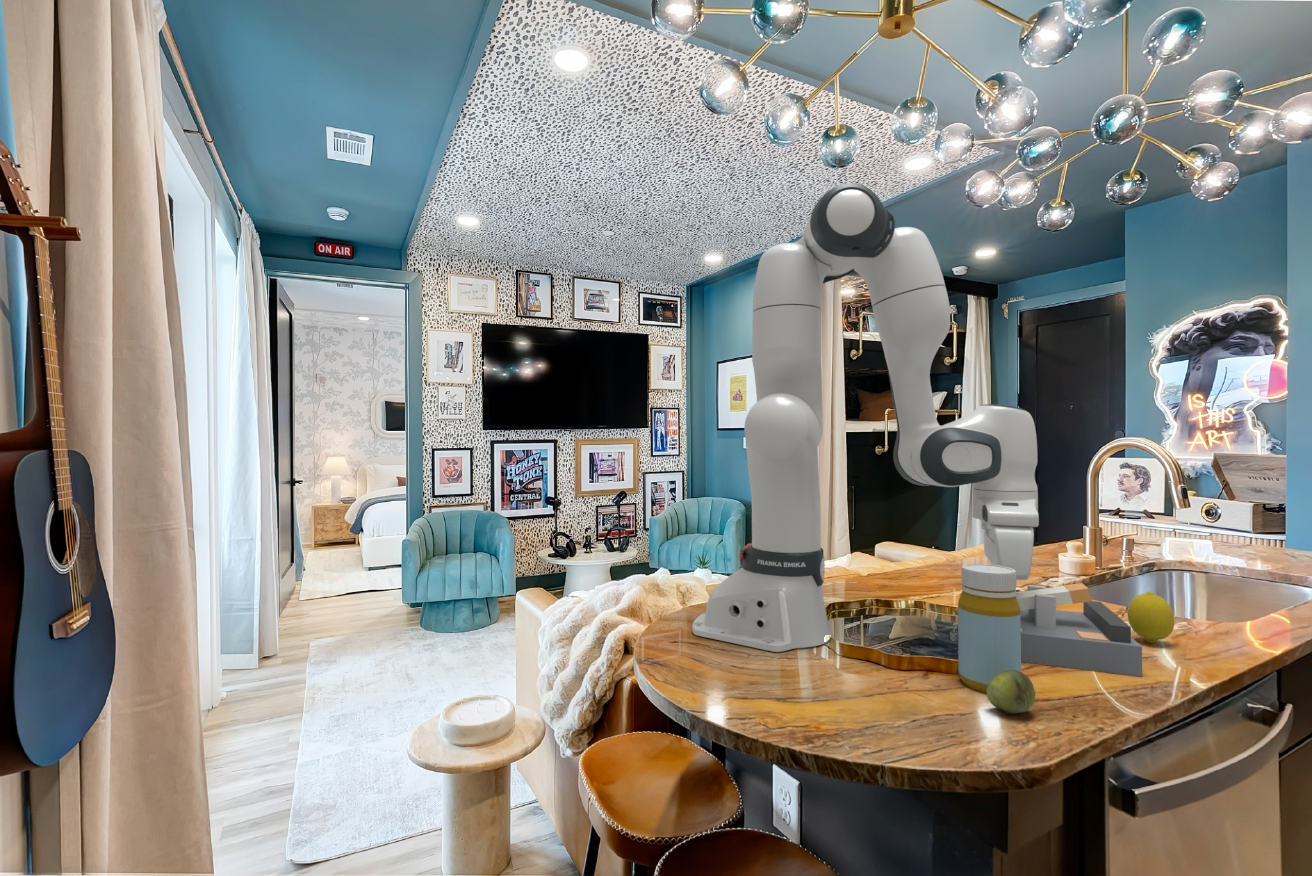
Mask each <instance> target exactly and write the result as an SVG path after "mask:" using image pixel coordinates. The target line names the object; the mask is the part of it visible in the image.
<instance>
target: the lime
mask: <svg viewBox="0 0 1312 876" xmlns="http://www.w3.org/2000/svg"><path fill="white" fill-rule="evenodd" d="M985 694H986V696H987V700H988V701H989V703H990V704H992V706H994V707H995V708H997V709H999V710H1000V711H1002V712H1005V713H1007V714H1013V715H1014V714H1018V713H1019V714H1020V713H1026V712H1027V711H1029V710H1030V709H1031V708H1032V707H1033V705H1034V702H1035V699H1036V690H1035V688H1034V684H1033V682H1032V681H1031V678H1030V677H1029V676H1027V674H1025V673H1023V672H1022V671H1021V672H1020V671H1017V670H1008V671H1003V672H1001V673H1000V674H998V675H997V676H996V677H994V678H993V679H992V680H991V681H990V683H989V685H988V687H987V691H986V693H985Z"/></svg>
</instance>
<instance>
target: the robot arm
mask: <svg viewBox="0 0 1312 876" xmlns="http://www.w3.org/2000/svg"><path fill="white" fill-rule="evenodd" d="M853 271H854V272H856V273H857V274H858V276H860V277H861V278H862V280H864V282H865V286H866V288H867V289H868V292H869V297H870V298H869V299H870V303H871V304H870V305H871V307H872V311H873V316H874V320H875V324H876V327H877V333H878V335H879V338H880V342H881V345H882V349H883V353H884V358H885V362H886V365H887V370H888V379H889V384H890V389H891V396H892V402H893V406H894V407H893V408H894V413H895V419H896V439H895V442H894V447H893V452H892V453H893V455H892V456H893V457H892V458H893V463H894V466H895V467H894V468H895V469H896V470H897V472H898V473H899V475H900V476H901V477H902V478H903V479H904V480H905V481H907V482H909V483H911V484H913V485H916V486H922V487H929V486H935V487H942V488H943V487H944V488H957V487H961V486H964V485H970V484H971V485H972V486H971V490H972V491H971V492H972V493H971V494H972V496H971V498H972V501H971V502H972V504H971V505H972V510H971V511H972V518H973V519H976V520H980V521H981V524H980V525H981V526H980V527H981V529H982V530H984V535H983V537H984V538H983V539H984V540H983V543H984V544H983V547H984V549H983V550H984V556H985V557H986V558H987V560H988V561H989V562H990V565H998V566H1004V567H1008V568H1012V569H1014V570H1015V571H1016V581H1019V580H1022V581H1027V580H1029V578H1030V575H1031V572H1032V565H1033V554H1034V553H1033V552H1034V539H1035V537H1034V536H1035V534H1034V533H1035V532H1034V531H1035V530H1034V528H1037V527H1039V525H1040V523H1039V522H1040V517H1039V503H1038V502H1039V493H1038V490H1039V489H1038V484H1037V483H1036V477H1035V473H1036V469H1037V468H1036V467H1037V465H1038V440H1037V439H1038V438H1037V431H1036V426H1035V425H1036V424H1035V422H1034V418H1033V417H1032V415H1031V413H1030V412H1029V411H1027V410H1026V409H1024V408H1021V407H1018V406H1014V405H1007V404H995V403H993V404H992V403H988V404H982V405H979V406H977V408H975V409H974V410H973V411H972V412H969V413H968V414H966V415H964V416H963V417H960V418H958V419H956V420H953V421H951V422H947V423H945V424H943V425H940V423H939V422H938V419H937V415H936V410H935V404H934V397H933V391H932V385H931V376H930V374H931V367H932V364H933V360H934V358H935V356H936V354H937V352H938V350H939V348H940V347H941V346H942V344H943V342H944V340H945V339H946V337H947V335H948V334H949V331H950V328H951V310H950V308H951V306H950V301H949V296H948V291H947V287H946V283H945V280H944V275H943V273H942V270H941V266H940V263H939V261H938V257H937V255H936V253H935V250H934V248H933V247H932V244H931V242H930V240H929V238H928V236H927V235H926V234H925V232H923V231H922V230H920V229H919V228H917V227H911V226H901V227H896V219H895V217H894V215H893V214H892V213H891V212H890V211H889V210H888V209H887V208H886V207H885V206H884V204H883V203H882V201H881V200H880V198H879V197H878V195H877V194H876V193H875V192H874V191H873V190H871V189H870V188H869V187H868V186H865V185H863V184H860V183H857V182H846V183H842V184H839V185H836V186H834V187H832V188H830V189H829V190H827V191H826V192H825V193H824V194H823V195H822V196H821V197H820V198H819V200H818V201H817V202H816V203H815V205H814V207H813V209H812V212H811V214H810V217H809V219H808V221H807V223H806V225H805V227H804V230H803V234H802V236H801V237H800V239H798V240H797V241H793V242H784V243H783V242H782V243H780V244H776V245H774V246H772V247H770V248H768V249H767V250H766V251H764V253H762V255H761V256H760V258H759V261H758V266H757V269H756V274H755V275H756V276H755V279H754V288H753V295H752V297H753V298H752V332H751V333H752V337H751V338H752V343H751V344H752V346H751V348H752V350H751V351H752V352H751V353H752V357H751V360H752V361H751V362H752V367H753V373H754V374H753V375H754V383H755V394H756V403H754V404H753V406H752V407H751V408H750V410H749V411H748V412H747V415H746V417H745V420H744V430H743V431H744V437H745V449H746V451H745V452H746V462H747V463H746V464H747V470H748V473H747V474H748V480H749V486H750V494H751V495H750V496H751V543H747V544H746V545H744V547H743V549H742V550H740V553H738V556H739V557H738V561H739V562H740V565H741V567H740V568H738V570H736V571H735V572H734V573H732V574H731V575H729V576H728V577H726V578H725V579H724V580H723V581H721V582H720V583H719V584H718V585H716V586H715V587H714V588H713V589H712V590H711V592H710V593H709V596H708V599H707V602H706V610H705V612H703V613H701V614H700V615H699V616H697V617H696V618H695V620H694V621H693V622H692V627H691V629H692V633H693V634H694V635H695V636H698V637H702V638H707V639H708V638H709V639H712V640H718V641H722V642H727V643H732V644H736V645H740V646H745V647H750V648H755V649H760V650H764V651H768V652H774V653H775V652H776V653H780V652H785V651H789V650H792V649H793V650H794V649H801V648H812V647H817V646H821V645H824V644H826V643H825V642H824V637H825V635H832V631H831V629H830V624H829V621H828V616H827V611H826V605H825V597H824V589H823V584H824V581H825V569H826V568H825V566H826V565H825V556H824V549H823V547H822V545H821V544H822V543H821V541H822V540H821V538H822V535H821V533H822V531H821V527H822V526H821V520H822V519H821V518H822V516H821V512H822V511H821V493H820V492H821V491H820V476H819V472H820V471H819V454H818V447H819V445H820V444H821V441H822V438H823V430H824V429H823V387H822V386H823V385H822V384H823V383H822V364H821V363H822V361H821V360H822V357H821V356H822V355H821V352H822V350H821V349H822V346H821V345H822V344H821V343H822V340H821V339H822V295H821V294H822V287H823V284H826V283H829V282H831V281H837V280H839V279H842V278H845V276H848V275H849V274H851V273H852V272H853ZM832 636H833V635H832Z"/></svg>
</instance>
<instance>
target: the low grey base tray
mask: <svg viewBox="0 0 1312 876" xmlns="http://www.w3.org/2000/svg"><path fill="white" fill-rule="evenodd" d="M1045 588H1047V587H1046V586H1043V585H1030V584H1029V585H1028V584H1027V591H1031V590H1038V589H1045ZM1082 609H1083V612H1082V611H1069V610H1060V609H1057V606H1056V597H1055V596H1054V595H1042V594H1035V609H1027V610H1020V613H1021V663H1028V662H1029V664H1038V665H1044V664H1046V665H1047V666H1052V665H1055V667H1060V668H1061V667H1062V668H1068V667H1069V668H1070V669H1075V670H1076V669H1077V670H1085V671H1094V672H1101V673H1109V674H1116V675H1118V674H1119V675H1123V676H1124V675H1126V676H1133V677H1143V646H1142V645H1141V644H1140V643H1139V642H1137V641H1136V640H1135V639H1134V638H1133V637H1132V628H1131V626H1130V624H1129V623H1126V622H1125V621H1124V620H1123V619H1122V618H1120V616H1118V615H1117V614H1116V613H1115V612H1113V611H1112V610H1111V609H1110V608H1108V606H1106V605H1105V604H1104V603H1102V602H1101V601H1094V600H1092V601H1091V602H1083V608H1082ZM1069 668H1068V669H1069Z"/></svg>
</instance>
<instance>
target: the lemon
mask: <svg viewBox="0 0 1312 876" xmlns="http://www.w3.org/2000/svg"><path fill="white" fill-rule="evenodd" d="M1127 621H1128V625H1129V626H1130V627H1131V630H1132V631H1134V633H1135V634H1136V635H1138V636H1139V637H1141V638H1143V639H1144V640H1146V642H1147V643H1149V644H1154V643H1155V642H1157V641H1160V640H1161V641H1162V640H1164V639H1167V638H1168V637H1169V636H1170V635H1171V634H1172V632H1173V630H1174V628H1175V616H1174V611H1173V610H1172V607H1171V606H1170V604H1169V602H1167V601H1166V600H1165V599H1164V598H1163V597H1162V596H1159V595H1157V594H1155V593H1154V592H1152V591H1147V592H1145V593H1141V594H1138V595H1136V596H1135V597H1133V598H1132V599H1131V601H1130V602H1129V605H1128V610H1127Z"/></svg>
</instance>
